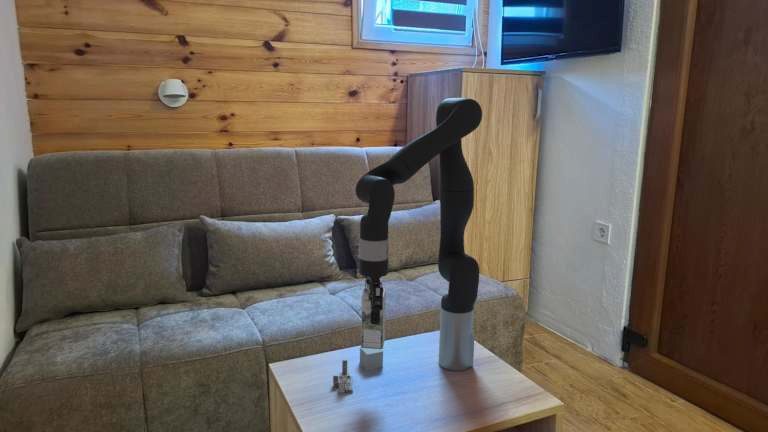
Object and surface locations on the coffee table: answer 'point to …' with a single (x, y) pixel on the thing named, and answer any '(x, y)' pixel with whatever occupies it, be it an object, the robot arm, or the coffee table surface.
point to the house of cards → (343, 379)
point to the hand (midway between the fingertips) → (372, 318)
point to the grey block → (371, 358)
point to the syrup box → (372, 332)
